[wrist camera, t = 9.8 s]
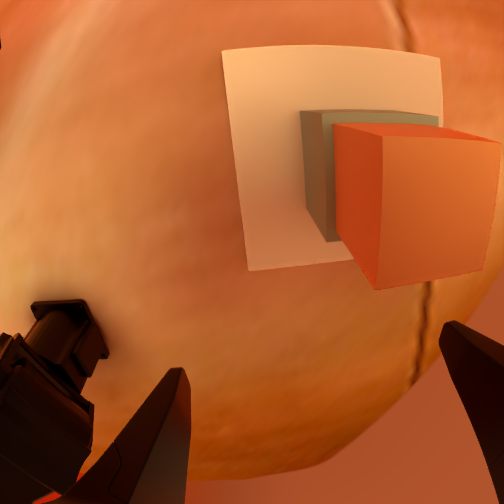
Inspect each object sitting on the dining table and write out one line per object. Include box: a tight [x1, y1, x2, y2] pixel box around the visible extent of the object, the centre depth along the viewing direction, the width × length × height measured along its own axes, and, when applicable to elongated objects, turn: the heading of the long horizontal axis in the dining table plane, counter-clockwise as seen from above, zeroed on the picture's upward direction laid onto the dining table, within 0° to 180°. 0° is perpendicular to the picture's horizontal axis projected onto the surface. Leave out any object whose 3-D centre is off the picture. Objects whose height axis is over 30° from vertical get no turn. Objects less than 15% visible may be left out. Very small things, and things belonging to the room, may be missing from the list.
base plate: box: [221, 45, 443, 271], centre depth 18 cm, size 14×14×1 cm
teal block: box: [300, 109, 439, 243], centre depth 15 cm, size 6×6×5 cm
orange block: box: [332, 123, 501, 290], centre depth 11 cm, size 5×5×5 cm
